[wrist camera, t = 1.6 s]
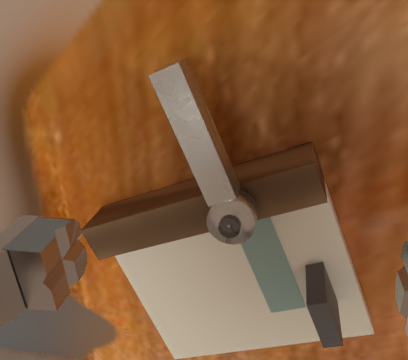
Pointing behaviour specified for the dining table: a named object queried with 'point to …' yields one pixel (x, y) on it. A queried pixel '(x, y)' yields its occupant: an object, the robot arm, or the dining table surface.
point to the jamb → (197, 207)
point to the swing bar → (205, 154)
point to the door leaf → (253, 287)
